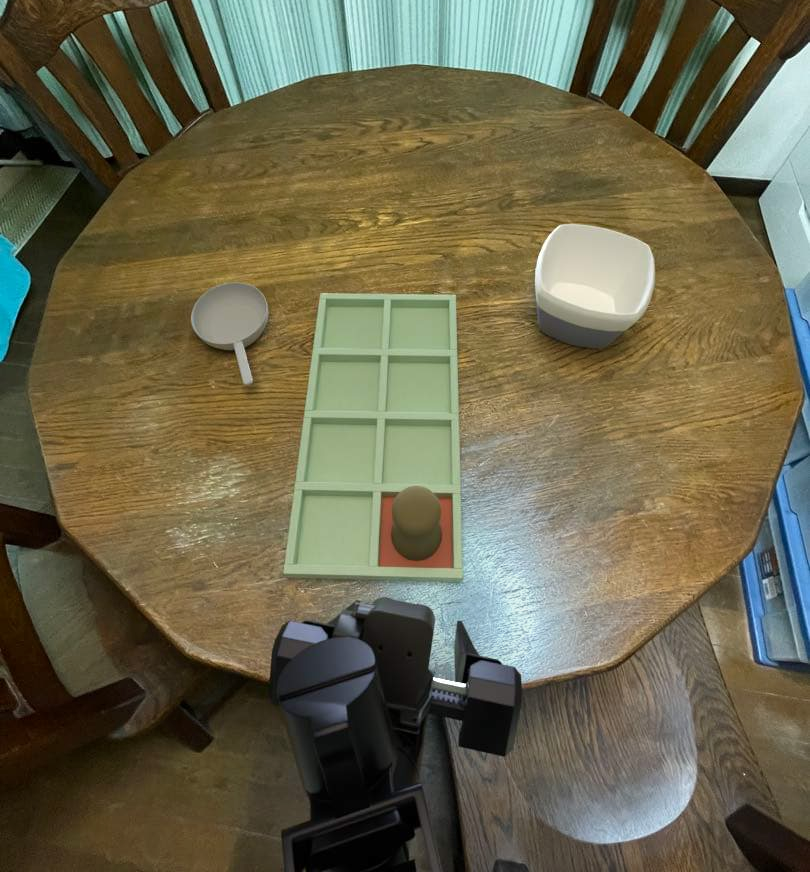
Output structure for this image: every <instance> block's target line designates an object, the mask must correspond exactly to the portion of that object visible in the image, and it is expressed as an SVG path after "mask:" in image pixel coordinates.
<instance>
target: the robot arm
mask: <svg viewBox="0 0 810 872" xmlns="http://www.w3.org/2000/svg"><path fill="white" fill-rule="evenodd" d="M435 623H436V615H435V612H434V611H433V609H432V608H430V607H429V606H427V605H426V604H422V603H413V602H408V601H402V600H397V599H393V598H391V597H388V596H381V597H378V598H376V599H375V600H374V601H373V602H372V603H366V602H362V601H361V600H358V599H355V600H354V601H353V602H352V603H351V604H350V605H348V606H347V607H346V608H345V609H343V610H341V612H340V613H339V614H338V615H337V616H336V617H334V618H333V619H331V620H330V621H328V622H327V623H323V622H318V621H314V620H309V619H308V620H307V619H306V620H303V621H302V622H299V621H294V620H288V621H286V622H284V624H282V625H281V627H280V628H279V631H278V633H277V635H276V636H275V638H274V641H273V646H272V648H271V658H270V671H269V680H268V681H269V682H268V697H269V700H270V702H271V705H273V706H277V707H279V709H280V712H281V716H282V720H283V723H284V726H285V730H286V735H287V737H288V740H289V741H288V742H289V744H290V748H291V751H292V754H293V758H294V762H295V765H296V768H297V772H298V776H299V779H300V783H301V786H302V789H303V792H304V793H305V795H306V797H307V799H308V801H309V811H310V812H309V819H308V820H306V821H303V822H301V823H298V824H295V825H291V826H288V827H286V828H283V829H281V833H280V836H281V849H282V858H283V861H282V862H283V871H284V872H304V871H305V872H420V869H419V865H418V863H417V859H416V858H413V859H410V858H411V850H412V842H413V839H415V838H416V831H417V830H420V829H421V832H422V836H423V842H424V846H425V851H426V855H427V859H428V865H429V869H430V872H443V867H442V864H441V860H440V855H439V851H438V846H437V841H436V838H435V834H434V829H433V825H432V821H431V816H430V812H429V808H428V804H427V801H426V796H425V791H424V788H423V787H424V786H423V784H422V781H420V779H421V772H422V771H421V770H422V764H423V756H424V747H425V741H426V733H427V723H428V716H429V715H434V716H438V717H443V718H448V719H451V720H457V721H460V722H461V724H460V725H461V726H460V728H459V732H458V742H457V743H458V744H457V747H459V748H463V749H467V750H471V751H475V752H481V753H484V754H485V753H486V754H490V755H494V756H498V757H503V758H505V757H507V756H508V755H509V754H510V753H511V752H513V750H514V746H515V740H516V736H517V729H518V723H519V719H520V715H521V714H520V713H521V709H522V699H523V683H522V674H521V673H520V672H519V671H518V669H517V668H516V667H515V666H511V665H506V664H503V663H502V661H500V660H499V659H497V658H492V657H487V656H483V655H481V654H480V653H479V652H478V650H477V649H476V647H475V645H474V644H473V642H472V639H471V637H470V635H469V633H468V631H467V629H466V627H465V625H464V623H463V621H462V620H457V621H456V626H455V635H454V644H453V646H454V647H453V648H454V649H453V653H454V654H453V655H454V681H453V680H447V679H443V678H438V677H435V674H436V673H435V671H433V670H430V668H429V667H430V661H431V655H432V647H433V646H432V645H433V640H434V633H435Z"/></svg>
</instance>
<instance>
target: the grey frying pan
mask: <svg viewBox="0 0 810 872" xmlns="http://www.w3.org/2000/svg"><path fill="white" fill-rule="evenodd" d="M268 320H269V307H268V303H267V299H266V297H265V295H264V294H263V292H262V291H261V290H259V288H257V287H256V286H254V285H252V284H249V283H247V282H242V281H241V282H240V281H233V282H232V281H231V282H225V283H221V284H219V285H216V286H214V287H212V288H210V289H209V290H206V292H204V293H203V294H202V295H201V296H200V297H199V298H198V300H196V302H195V304H194V306H193V308H192V311H191V316H190V322H191V327H192V329H193V330H194V333H196V335H197V337H198V338H199V339H201V341H202V342H203V343H205V344H207V345H208V346H210V347H213V348H214V349H219V350H223V351H224V350H225V351H234V352H235V356H236V357H235V358H236V361H237V364H238V367H239V373H240V377H241V380H242V383H243V385H244V386H250V385H252V384H253V382H254V379H253V376H252V372H251V368H250V364H249V361H248V357H247V353H246V349H245V348H247V347H249V346H250V345H252V344H253V343H255V342H256V341H257V340H258V339H259V338H260V336H261V335H262V333H264V330H265V328H266V326H267V324H268Z"/></svg>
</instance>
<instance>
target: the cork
mask: <svg viewBox="0 0 810 872" xmlns="http://www.w3.org/2000/svg"><path fill="white" fill-rule="evenodd" d="M391 511H392V518H393V521H394V523H393V526H392V531H391V539H392V544H393V546H394V548H395V550H396V551H397V552H398V553H399V554H400V555H401V556H402V557H404V558H406V559H408V560H412V561H421V560H426V559H427V558H429V557H431V556H433V555H434V553H435V552H436V551H437V550H438V548H439V546H440V544H441V540H442V531H441V526H440V523H439V521H440V517H441V506H440V502H439V500H438V498H437V497H436V495H435V494H434V493H433V492H432V491H431V490H429V489H427V488H425V487H422V486H411V487H407V488H405V489H404V490H402V491H401V492H400V493H399V494H398V495H397V496H396V498H395V500H394V502H393V504H392V510H391Z"/></svg>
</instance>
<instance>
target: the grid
mask: <svg viewBox="0 0 810 872" xmlns="http://www.w3.org/2000/svg"><path fill="white" fill-rule="evenodd" d="M316 314H317V315H316V323H315V329H314V337H313V344H312V345H313V346H312V351H311V360H310V368H309V375H308V383H307V391H306V399H305V403H304V404H305V405H304V413H303V421H302V427H301V434H300V441H299V442H300V443H299V450H298V457H297V467H296V473H295V482H294V488H293V496H292V504H291V510H290V511H291V512H290V519H289V527H288V534H287V541H286V549H285V557H284V565H283V570H282V571H283V573H282V574H283V575H284V576H285V577H286V578H287V579H314V580H315V579H316V580H318V579H319V580H321V579H322V580H353V581H354V580H359V581H391V582H393V581H396V582H434V583H435V582H437V583H463V579H464V566H463V564H464V563H463V532H462V531H463V527H462V526H463V524H462V522H463V521H462V520H463V519H462V486H461V483H462V482H461V481H462V480H461V449H460V448H461V442H460V405H459V403H460V401H459V400H460V399H459V363H458V362H459V361H458V359H459V358H458V329H457V328H458V323H457V322H458V321H457V318H458V317H457V295H456V294H414V293H413V294H412V293H411V294H407V293H405V294H402V293H401V294H400V293H322V292H321V293H319V300H318V308H317V313H316ZM411 486H422V487H425V488H427V489H429V490H431V491H432V492H433V493H434V494H435V495H436V497H437V498H438V500H439V502H440V506H441V517H440V521H439V523H440V526H441V531H442V540H441V544H440V546H439V548H438V550H437V551H436V552H435V553H434V555H433V556H431V557H429V558H427V559H426V560H421V561H412V560H408V559H406V558H404V557H402V556H401V555H400V554H399V553H398V552H397V551H396V550H395V548H394V546H393V544H392V539H391V531H392V526H393V523H394V521H393V518H392V511H391V510H392V504H393V502H394V500H395V498H396V496H397V495H398V494H399V493H400V492H401V491H402V490H404V489H405V488H407V487H411Z"/></svg>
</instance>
